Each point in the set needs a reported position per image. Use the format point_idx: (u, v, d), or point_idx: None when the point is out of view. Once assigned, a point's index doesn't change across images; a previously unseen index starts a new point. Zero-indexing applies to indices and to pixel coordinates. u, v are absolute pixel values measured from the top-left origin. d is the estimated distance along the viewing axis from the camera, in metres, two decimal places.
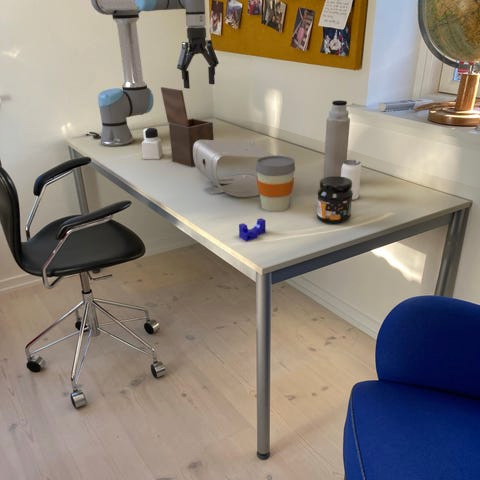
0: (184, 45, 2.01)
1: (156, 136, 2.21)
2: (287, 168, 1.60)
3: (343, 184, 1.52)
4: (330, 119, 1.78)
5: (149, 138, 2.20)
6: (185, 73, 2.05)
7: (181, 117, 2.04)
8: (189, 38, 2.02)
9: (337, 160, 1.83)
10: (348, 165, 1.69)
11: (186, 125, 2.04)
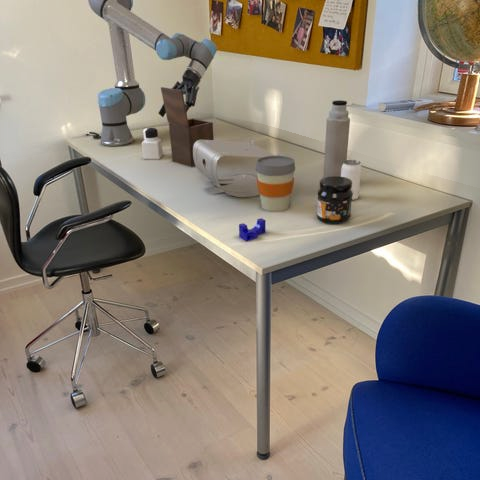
0: (197, 88, 2.21)
1: (156, 136, 2.21)
2: (287, 168, 1.60)
3: (343, 184, 1.52)
4: (330, 119, 1.78)
5: (149, 138, 2.20)
6: None
7: (181, 117, 2.04)
8: (194, 82, 2.23)
9: (337, 160, 1.83)
10: (348, 165, 1.69)
11: (186, 125, 2.04)
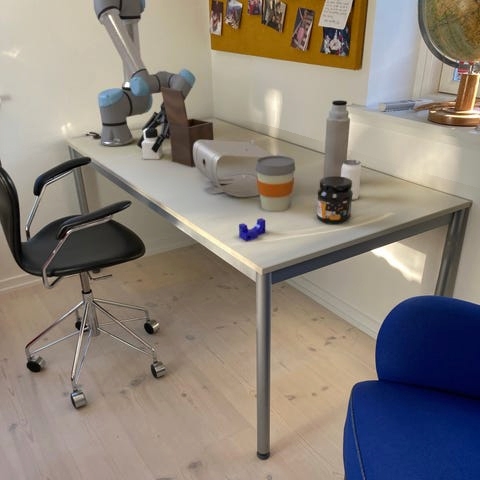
0: None
1: (156, 136, 2.21)
2: (287, 168, 1.60)
3: (343, 184, 1.52)
4: (330, 119, 1.78)
5: (149, 138, 2.20)
6: None
7: (181, 117, 2.04)
8: None
9: (337, 160, 1.83)
10: (348, 165, 1.69)
11: (186, 125, 2.04)
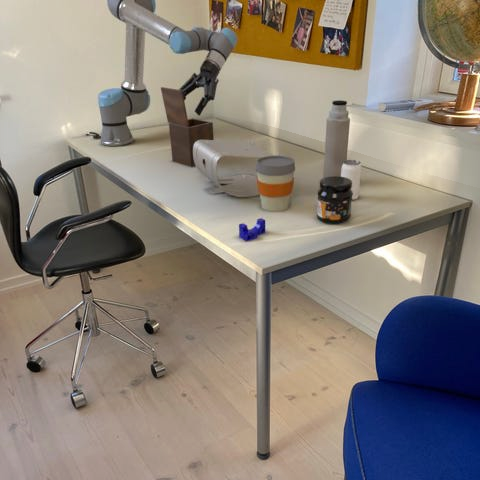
0: (216, 80, 2.05)
1: None
2: (287, 168, 1.60)
3: (343, 184, 1.52)
4: (330, 119, 1.78)
5: None
6: None
7: (181, 117, 2.04)
8: (213, 74, 2.07)
9: (337, 160, 1.83)
10: (348, 165, 1.69)
11: (186, 125, 2.04)
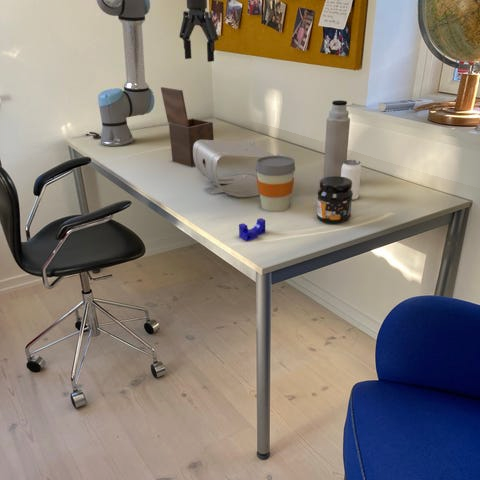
0: (210, 15, 1.92)
1: None
2: (287, 168, 1.60)
3: (343, 184, 1.52)
4: (330, 119, 1.78)
5: None
6: None
7: (181, 117, 2.04)
8: (203, 8, 1.92)
9: (337, 160, 1.83)
10: (348, 165, 1.69)
11: (186, 125, 2.04)
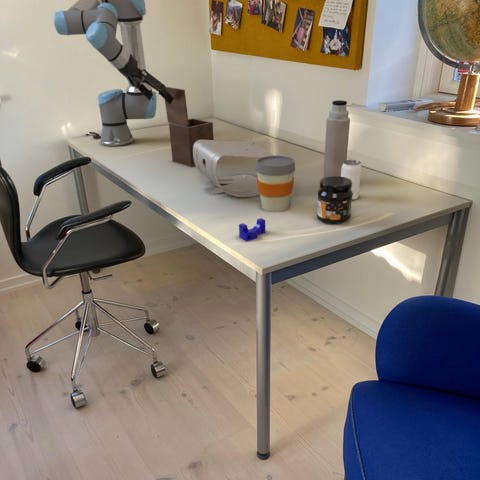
0: (145, 72, 1.90)
1: None
2: (287, 168, 1.60)
3: (343, 184, 1.52)
4: (330, 119, 1.78)
5: None
6: None
7: (182, 117, 2.04)
8: (136, 69, 1.90)
9: (337, 160, 1.83)
10: (348, 165, 1.69)
11: (186, 125, 2.04)
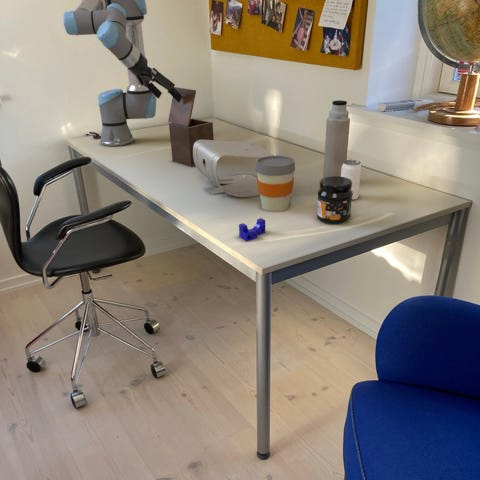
0: (155, 71, 1.93)
1: None
2: (287, 168, 1.60)
3: (343, 184, 1.52)
4: (330, 119, 1.78)
5: None
6: None
7: (184, 116, 2.05)
8: (145, 68, 1.93)
9: (337, 160, 1.83)
10: (348, 165, 1.69)
11: (187, 124, 2.04)
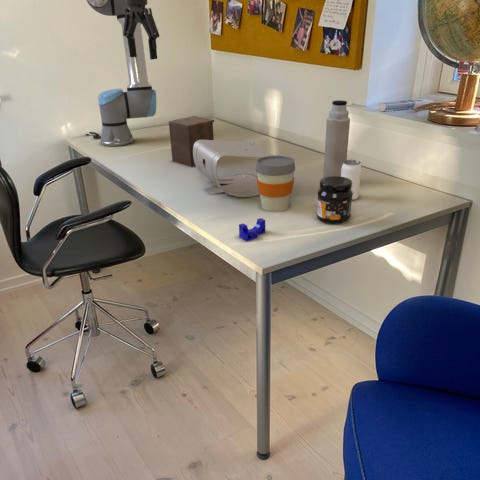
0: (149, 11, 1.87)
1: None
2: (287, 168, 1.60)
3: (343, 184, 1.52)
4: (330, 119, 1.78)
5: None
6: None
7: (190, 123, 2.08)
8: (142, 4, 1.87)
9: (337, 160, 1.83)
10: (348, 165, 1.69)
11: (188, 125, 2.05)
